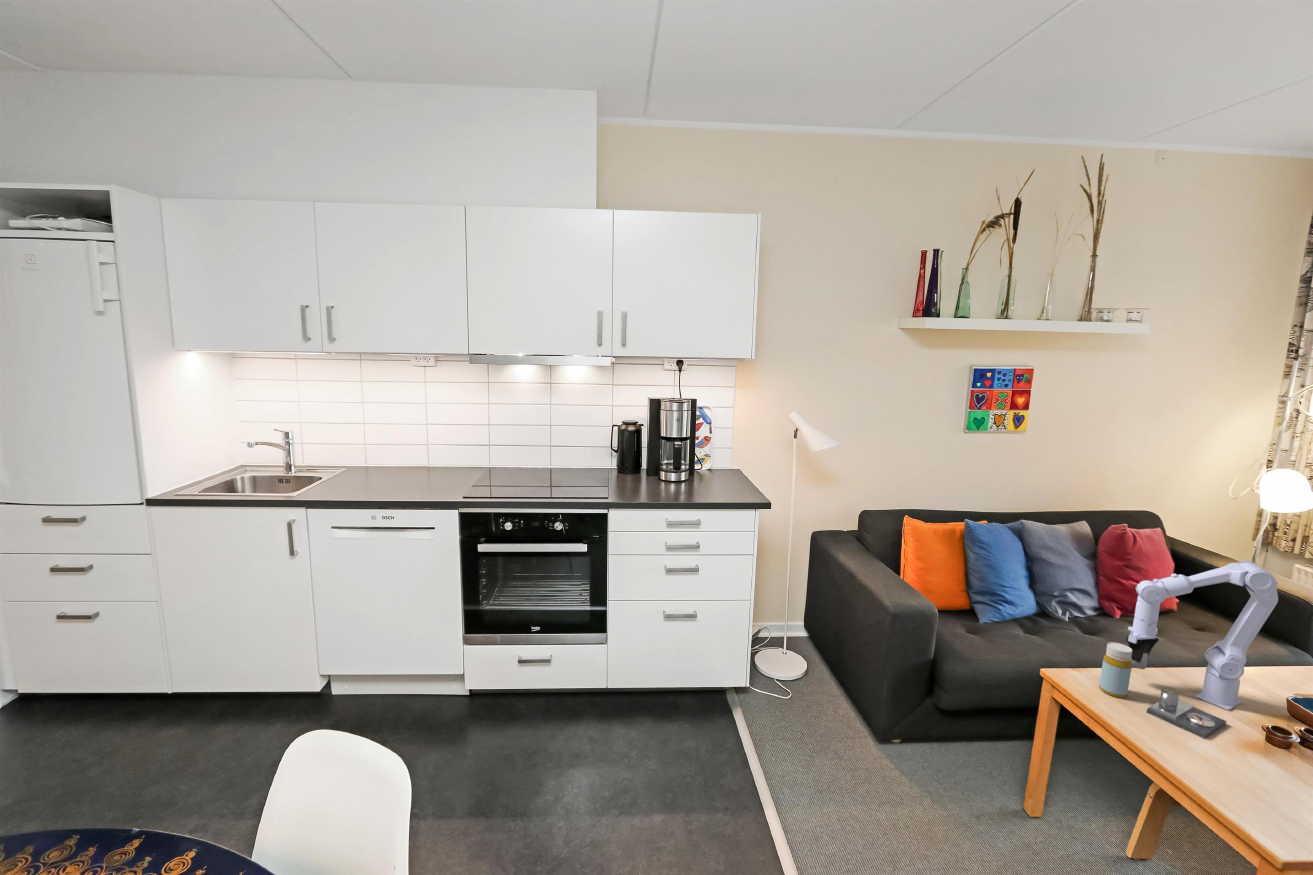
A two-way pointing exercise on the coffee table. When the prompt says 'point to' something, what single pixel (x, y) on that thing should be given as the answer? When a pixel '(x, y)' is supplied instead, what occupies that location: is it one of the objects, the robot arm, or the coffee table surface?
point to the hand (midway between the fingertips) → (1139, 658)
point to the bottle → (1116, 670)
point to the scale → (1189, 719)
